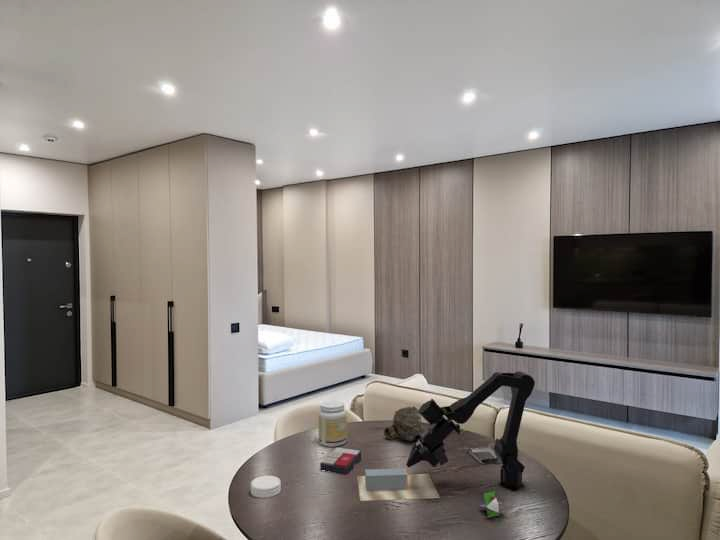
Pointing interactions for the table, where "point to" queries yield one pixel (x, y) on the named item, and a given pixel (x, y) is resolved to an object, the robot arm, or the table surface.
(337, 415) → the supplement tub
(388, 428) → the rock
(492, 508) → the geometric puzzle
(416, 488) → the board
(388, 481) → the pillar
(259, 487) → the white puck
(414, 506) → the table surface
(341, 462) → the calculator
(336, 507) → the table surface
